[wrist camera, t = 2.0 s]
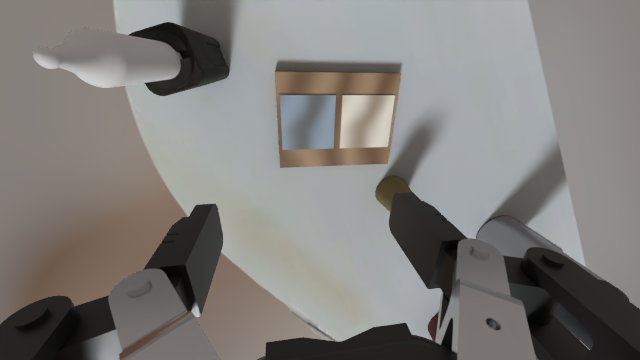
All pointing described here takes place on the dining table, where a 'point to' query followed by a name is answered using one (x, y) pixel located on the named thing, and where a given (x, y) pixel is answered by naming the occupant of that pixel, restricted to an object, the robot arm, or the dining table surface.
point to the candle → (139, 58)
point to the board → (335, 117)
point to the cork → (390, 190)
